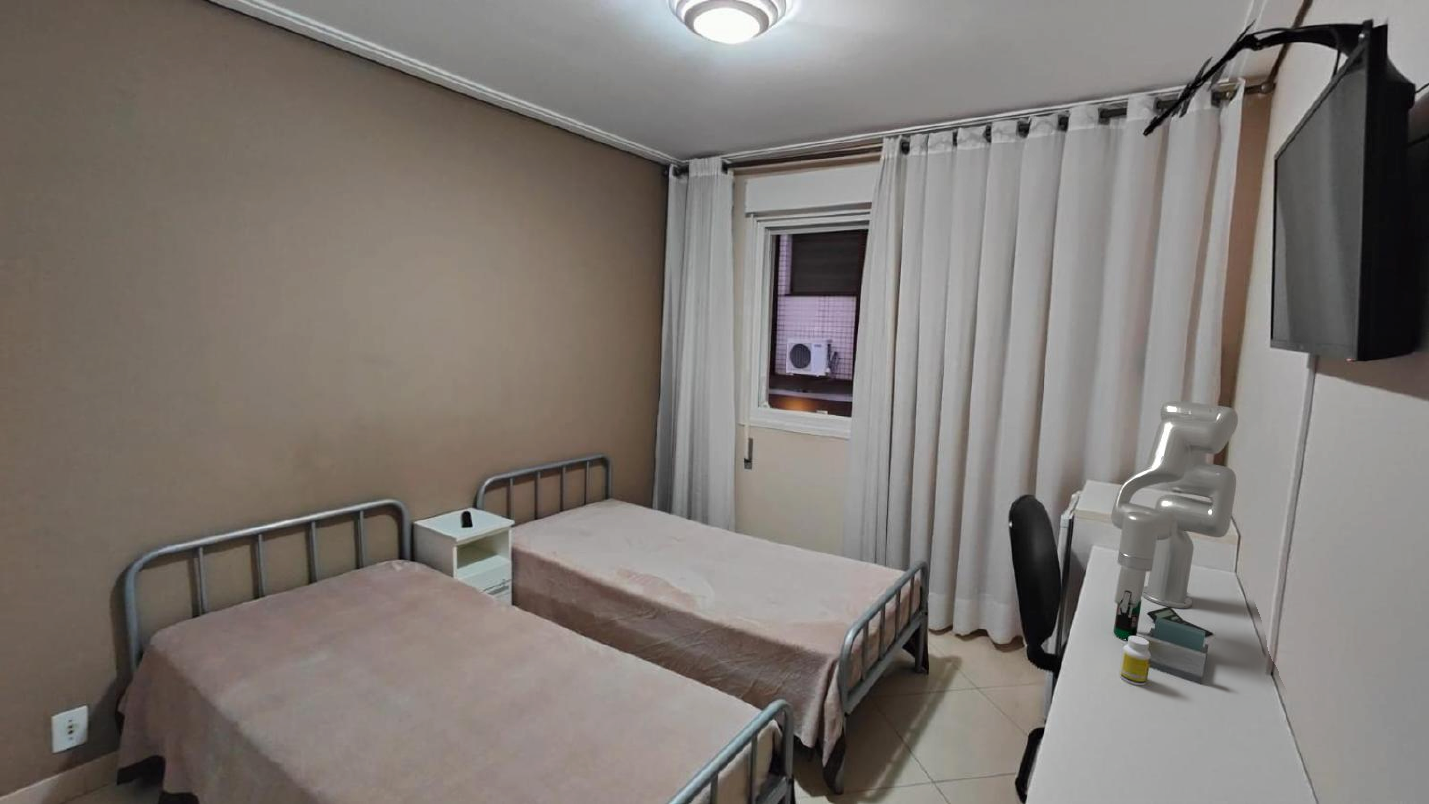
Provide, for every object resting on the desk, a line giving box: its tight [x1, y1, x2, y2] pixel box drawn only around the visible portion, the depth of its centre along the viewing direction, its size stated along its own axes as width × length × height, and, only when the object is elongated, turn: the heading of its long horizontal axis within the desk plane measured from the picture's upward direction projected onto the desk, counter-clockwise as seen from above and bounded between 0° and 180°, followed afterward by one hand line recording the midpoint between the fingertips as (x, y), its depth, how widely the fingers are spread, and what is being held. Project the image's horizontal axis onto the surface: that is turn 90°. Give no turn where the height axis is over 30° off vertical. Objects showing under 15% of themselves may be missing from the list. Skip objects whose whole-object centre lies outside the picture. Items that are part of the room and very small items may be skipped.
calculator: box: [1146, 606, 1213, 638], centre depth 173 cm, size 9×12×3 cm
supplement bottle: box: [1118, 635, 1151, 686], centre depth 146 cm, size 5×5×10 cm
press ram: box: [1153, 617, 1206, 653], centre depth 160 cm, size 3×10×5 cm, turn 49°
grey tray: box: [1142, 627, 1210, 685], centre depth 156 cm, size 18×12×6 cm, turn 139°
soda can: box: [1113, 594, 1143, 641], centre depth 166 cm, size 5×5×12 cm
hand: (1126, 623), depth 166 cm, fingers open, 8 cm apart
